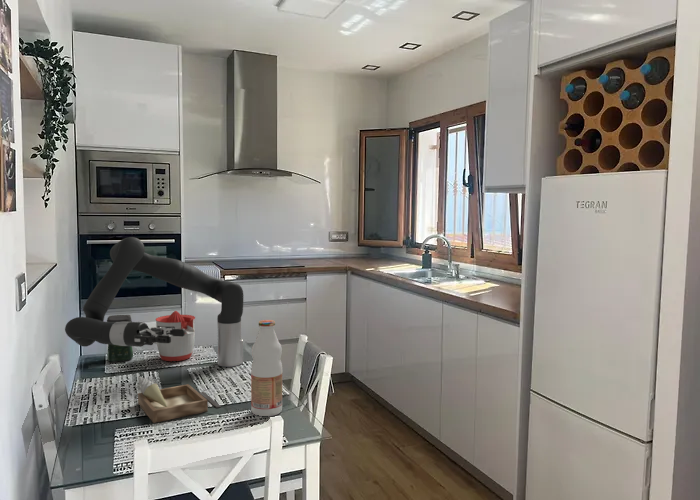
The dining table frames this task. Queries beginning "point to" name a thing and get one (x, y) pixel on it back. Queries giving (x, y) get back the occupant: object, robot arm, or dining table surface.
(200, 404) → the tray
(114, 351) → the coffee jar
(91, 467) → the dining table surface
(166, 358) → the citrus juicer
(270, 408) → the fruit juice
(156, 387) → the ice cream cone
